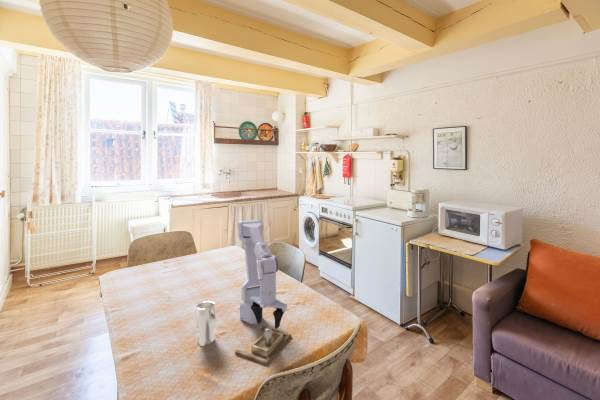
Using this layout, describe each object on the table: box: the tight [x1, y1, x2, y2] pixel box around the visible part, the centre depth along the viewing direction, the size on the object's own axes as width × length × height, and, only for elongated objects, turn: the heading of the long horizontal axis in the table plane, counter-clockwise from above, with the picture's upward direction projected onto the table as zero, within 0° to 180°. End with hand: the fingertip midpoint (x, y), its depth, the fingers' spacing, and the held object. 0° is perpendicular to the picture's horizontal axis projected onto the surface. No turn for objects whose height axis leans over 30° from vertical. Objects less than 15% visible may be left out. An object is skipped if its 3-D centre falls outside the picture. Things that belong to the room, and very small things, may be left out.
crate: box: [251, 327, 285, 358], centre depth 109 cm, size 7×11×6 cm, turn 154°
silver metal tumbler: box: [195, 300, 217, 347], centre depth 112 cm, size 7×7×15 cm
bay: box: [234, 325, 292, 366], centre depth 110 cm, size 13×18×2 cm
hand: (268, 324), depth 108 cm, fingers open, 7 cm apart
